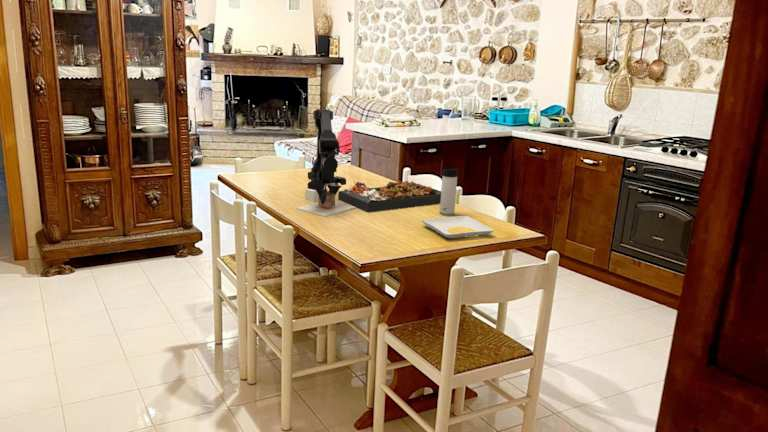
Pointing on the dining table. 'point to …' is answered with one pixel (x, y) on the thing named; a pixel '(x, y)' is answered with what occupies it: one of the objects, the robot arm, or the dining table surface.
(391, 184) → the food platter
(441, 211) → the travel mug
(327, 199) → the walnut cube
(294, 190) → the dining table surface
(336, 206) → the blueprint board
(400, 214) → the dining table surface
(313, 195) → the offwhite cube
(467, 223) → the salad plate
